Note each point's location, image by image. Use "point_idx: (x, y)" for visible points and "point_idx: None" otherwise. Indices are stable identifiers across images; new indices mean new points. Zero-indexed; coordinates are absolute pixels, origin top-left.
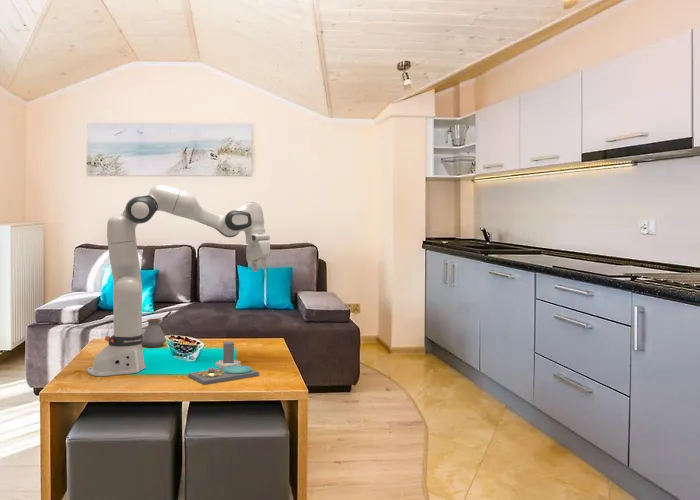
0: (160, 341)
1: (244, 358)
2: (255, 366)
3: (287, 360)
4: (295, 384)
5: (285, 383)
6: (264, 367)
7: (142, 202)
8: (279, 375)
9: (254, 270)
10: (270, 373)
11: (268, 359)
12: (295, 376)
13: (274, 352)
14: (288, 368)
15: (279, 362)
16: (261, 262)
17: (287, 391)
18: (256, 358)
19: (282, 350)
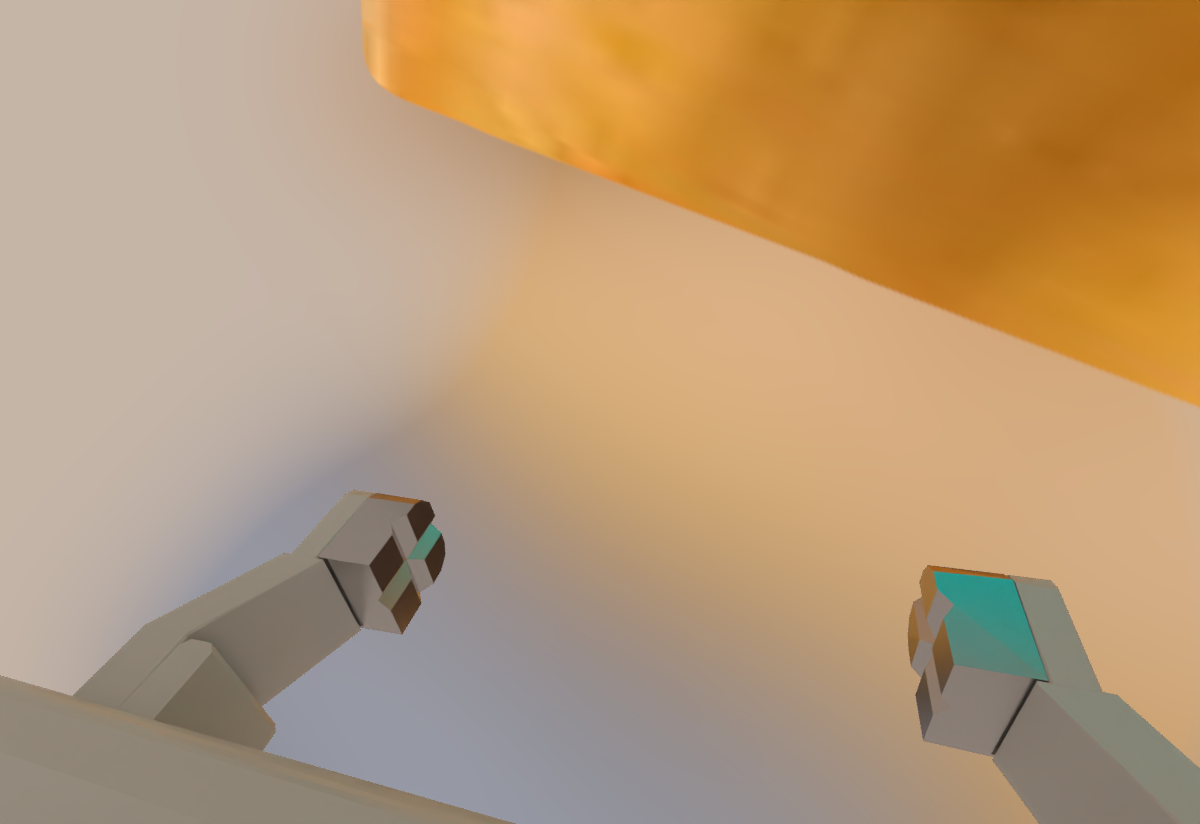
0: None
1: (1140, 8)
2: (828, 16)
3: (865, 271)
4: (447, 97)
5: (463, 58)
6: (775, 69)
7: None
8: (589, 87)
9: (935, 575)
10: (637, 54)
11: (964, 181)
12: (556, 155)
13: (1143, 310)
14: (698, 193)
15: (845, 209)
16: (238, 589)
17: (363, 17)
18: (1058, 110)
19: (1157, 381)
